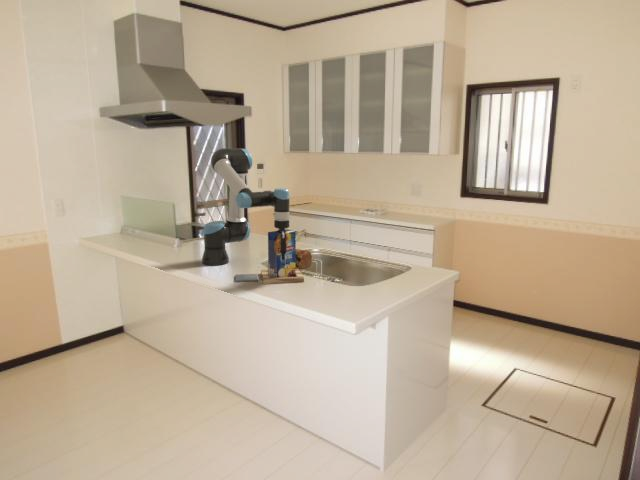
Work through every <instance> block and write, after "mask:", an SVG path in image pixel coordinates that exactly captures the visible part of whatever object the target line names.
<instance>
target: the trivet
mask: <svg viewBox="0 0 640 480" xmlns="http://www.w3.org/2000/svg"><path fill="white" fill-rule="evenodd" d="M234 279H235V283H248V282H249V281H253V282H259V278H258V274H257V273H244V274H243V273H242V274H241V273H239V274H235V275H234ZM249 283H250V282H249Z"/></svg>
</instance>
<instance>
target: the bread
mask: <svg viewBox="0 0 640 480" xmlns="http://www.w3.org/2000/svg"><path fill="white" fill-rule="evenodd" d="M312 258H313V257H312V253H311V252H310V251H309V250H308V249H307V250H306V249H300V248H296V264H295V269H299V270H300V271H301V270H305V269H308V268H311V266H312V260H313V259H312Z"/></svg>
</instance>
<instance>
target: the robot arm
mask: <svg viewBox="0 0 640 480" xmlns="http://www.w3.org/2000/svg"><path fill="white" fill-rule="evenodd" d="M253 163H254V162H253V158H252V154H251V152H250V151H249V150H248V149H247V148H240V147H239V148H219V149H217V150H215V151H214V152H213V154H212V155H211V159H210V165H211V168H212V170H213V171H214V172H215V173H216V174H217V175H219V176H220V177H221V178H222V179H223V180H224V182H225V183H226V184H227V186H228V188H229V194H228V195H229V198H228V199H229V200H228V201H229V204H228V206H229V207H228V216H227V218H226V221H225V220H224V221H223V220H215V221H209V222H206V223H205V225H204V226H203V240H204V241H203V245H204V246H203V247H204V252H203V254H202V258H201V264H202V265H205V266H221V265H222V266H223V265H227V264H229V263H230V261H229V260H230V258H229V255H228V253H227V250H226V244H228V243H237V242H243V241H246V240H248V239H249V237H250V234H251V225H250V223H249V222H248V221H247V218H246V217H245V209H250V208H260V207H261V208H262V207H273V208H274V213H272V215H273V216H274V217H273V218H274V222H273V224H274V226H273V227H274V228H275V229H277V231H278V232H280V233H282V234H281V254H282V260H285V266H286V254H285V253H286V234H285V230H286V229H288V228H289V227H290V198H291V197H290V190H289V189H288V188H275V189H274V191H272V190H263V191H252V189H250V187H249V186H248V185H247V184H246V176H247V175H248V174H249V170H251V169H252V168H253Z"/></svg>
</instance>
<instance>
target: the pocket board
mask: <svg viewBox="0 0 640 480" xmlns="http://www.w3.org/2000/svg"><path fill="white" fill-rule="evenodd" d="M260 275H261V279H262V281H263V282H262V283H263V284H265V285H266V284H281V283H282V284H283V283H305V277H304V275H303V274H302V272H301V269H300V270H299V269H295V277H282V278H269V275H268V269H261V270H260Z"/></svg>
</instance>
